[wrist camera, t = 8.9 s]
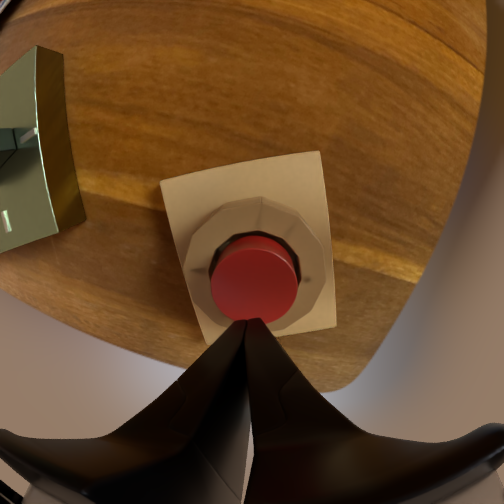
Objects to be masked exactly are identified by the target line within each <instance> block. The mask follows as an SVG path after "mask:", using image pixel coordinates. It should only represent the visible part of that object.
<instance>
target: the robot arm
mask: <svg viewBox="0 0 504 504" xmlns="http://www.w3.org/2000/svg"><path fill="white" fill-rule="evenodd" d="M250 424H251V425H252V435H253V444H254V457H253V462H252V467H251V472H250V476H249V481H248V486H247V490H246V495H245V499H244V504H504V488H503V485H502V483H501V480H500V478H499V476H498V474H497V471H496V470H497V468H499V467H500V466H501V465H502V464H503V463H504V424H500V423H489V424H486V425H483V426H481V427H479V428H477V429H476V430H474V431H472V432H470V433H468V434H467V435H465V436H462V437H460V438H458V439H455V440H451V441H447V442H440V443H425V442H417V441H410V440H403V439H396V438H390V437H385V436H379V435H374V434H371V433H368V432H366V431H364V430H362V429H360V428H359V427H357V426H356V425H355V424H353V423H352V422H351V421H350V420H349V419H348V418H346V417H345V416H344V415H343V414H342V413H341V412H340V411H338V410H337V409H336V408H335V407H334V406H333V405H332V404H331V403H329V402H328V401H327V400H326V399H325V398H324V397H323V396H322V395H321V394H320V393H319V392H318V391H317V390H316V389H315V388H314V387H313V386H312V385H311V384H310V383H309V381H308V380H307V379H306V378H305V376H304V375H303V374H302V373H301V371H300V370H299V369H298V367H297V366H296V365H295V364H294V362H293V361H292V360H291V358H290V357H289V356H288V354H287V353H286V351H285V350H284V349H283V347H282V346H281V345H280V343H279V342H278V341H277V339H276V338H275V337H274V335H273V334H272V333H271V331H270V330H269V328H268V327H267V326H266V324H265V323H264V322H263V320H262V319H261V318H260V317H258V318H251V319H248V320H246V319H243V320H236V321H234V322H233V323H232V324H231V325H230V326H229V327H228V328H227V329H226V330H225V331H224V332H223V333H222V334H221V335H220V336H219V338H218V339H217V340H216V341H215V342H214V343H213V344H212V345H211V346H210V347H209V348H208V349H207V350H206V351H205V352H204V353H203V354H202V355H201V356H200V357H199V358H198V359H197V360H196V361H195V362H194V363H193V364H192V365H191V366H190V367H189V368H188V369H187V370H186V371H185V372H184V373H183V374H182V375H181V376H180V377H179V378H178V379H177V381H175V382H174V383H173V384H172V385H171V386H170V387H169V388H168V389H166V390H165V391H164V392H163V393H162V394H161V395H160V396H159V397H158V398H157V399H155V400H154V401H153V402H152V403H150V404H149V405H148V406H147V407H145V408H144V409H143V410H142V411H140V412H139V413H138V414H136V415H135V416H134V417H133V418H131V419H130V420H128V421H127V422H126V423H124V424H123V425H122V426H121V427H119V428H118V429H116V430H115V431H113V432H112V433H110V434H108V435H105V436H102V437H98V438H91V439H36V438H28V437H22V436H18V435H15V434H13V433H12V432H10V431H8V430H5V429H0V458H1V459H2V460H3V461H4V462H6V463H7V464H8V465H9V466H10V467H11V468H12V469H13V470H15V471H16V472H17V473H18V474H19V475H21V476H22V477H23V478H24V479H25V480H27V481H28V482H29V483H30V485H29V487H28V489H27V491H26V493H25V495H24V497H22V496H21V495H19V494H18V493H17V492H15V491H14V490H13V489H11V488H10V487H9V486H7V485H6V484H5V483H4V482H3V481H1V480H0V504H241V499H242V491H243V483H244V474H245V467H246V458H247V449H248V441H249V432H250Z"/></svg>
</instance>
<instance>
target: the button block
mask: <svg viewBox="0 0 504 504" xmlns="http://www.w3.org/2000/svg"><path fill="white" fill-rule="evenodd" d="M160 187H161V191H162V195H163V200H164V204H165V208H166V212H167V216H168V220H169V224H170V228H171V231H172V235H173V239H174V243H175V246H176V250H177V254H178V257H179V261H180V264H181V268H182V271H183V274H184V278H185V281H186V284H187V288H188V291H189V294H190V297H191V300H192V304H193V307H194V310H195V313H196V316H197V319H198V322H199V325H200V328H201V331H202V334H203V337H204V340H205V342H206V344H207V345H209V344H213V343H214V342H215V341H216V340H217V339H218V338H219V336H220V335H221V334H222V333H223V332H224V331H225V330H226V329H227V328H228V327H229V326H230V325H231V324H232V323H233V322H234V320H232V319H230V318H228V317H227V316H226V315H224V314H223V313H222V312H221V311H220V310H219V308H218V307H217V306H216V304H215V302H214V300H213V297H212V294H211V286H210V284H211V278H212V274H213V272H214V269H215V267H216V264H217V262H218V259H219V257H220V255H221V253H222V252H223V250H224V249H225V248H226V247H227V246H228V245H229V244H231V243H232V242H233V241H235V240H237V239H240V238H242V237H247V236H263V237H267V238H270V239H272V240H274V241H276V242H278V243H279V244H280V245H282V246H283V247H284V248H285V249H286V251H287V252H288V254H289V255H290V257H291V260H292V262H293V266H294V270H295V274H296V277H297V282H298V291H297V296H296V299H295V301H294V303H293V305H292V307H291V308H290V309H289V311H288V312H287V313H286V314H285V315H283V316H282V317H281V318H279V319H277V320H276V321H273V322H271V323H268V324H266V326H267V327H268V328H269V330H270V331H271V333H272V334H273V335H274V337H279V336H285V335H292V334H298V333H304V332H310V331H316V330H321V329H327V328H332V327H336V301H335V283H334V268H333V256H332V244H331V234H330V224H329V215H328V207H327V199H326V191H325V184H324V177H323V170H322V163H321V157H320V152H319V151H309V152H301V153H294V154H287V155H281V156H274V157H268V158H262V159H256V160H251V161H245V162H240V163H235V164H230V165H225V166H220V167H215V168H211V169H206V170H202V171H197V172H193V173H189V174H185V175H180V176H176V177H172V178H168V179H165V180H162V181H160Z"/></svg>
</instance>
